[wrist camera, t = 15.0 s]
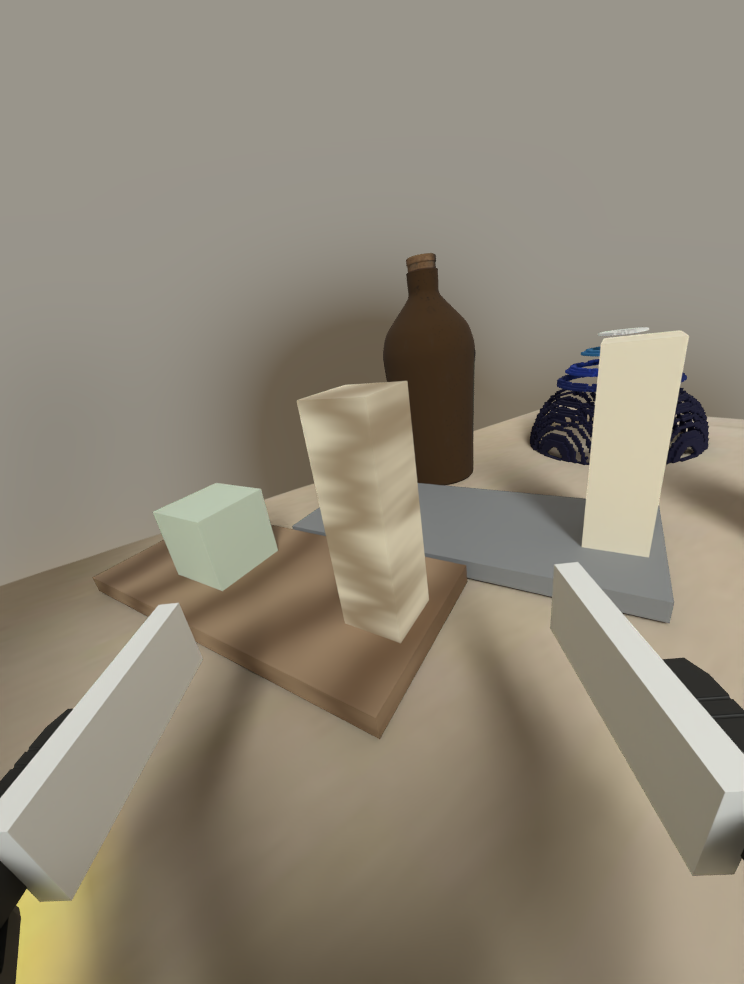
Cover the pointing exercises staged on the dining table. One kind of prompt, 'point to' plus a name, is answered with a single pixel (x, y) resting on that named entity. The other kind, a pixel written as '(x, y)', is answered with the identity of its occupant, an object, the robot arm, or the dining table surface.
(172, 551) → the sage block
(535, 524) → the gray board with post
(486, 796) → the dining table surface
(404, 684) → the wooden base with post
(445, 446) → the olive oil
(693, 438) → the blue ringed dome
